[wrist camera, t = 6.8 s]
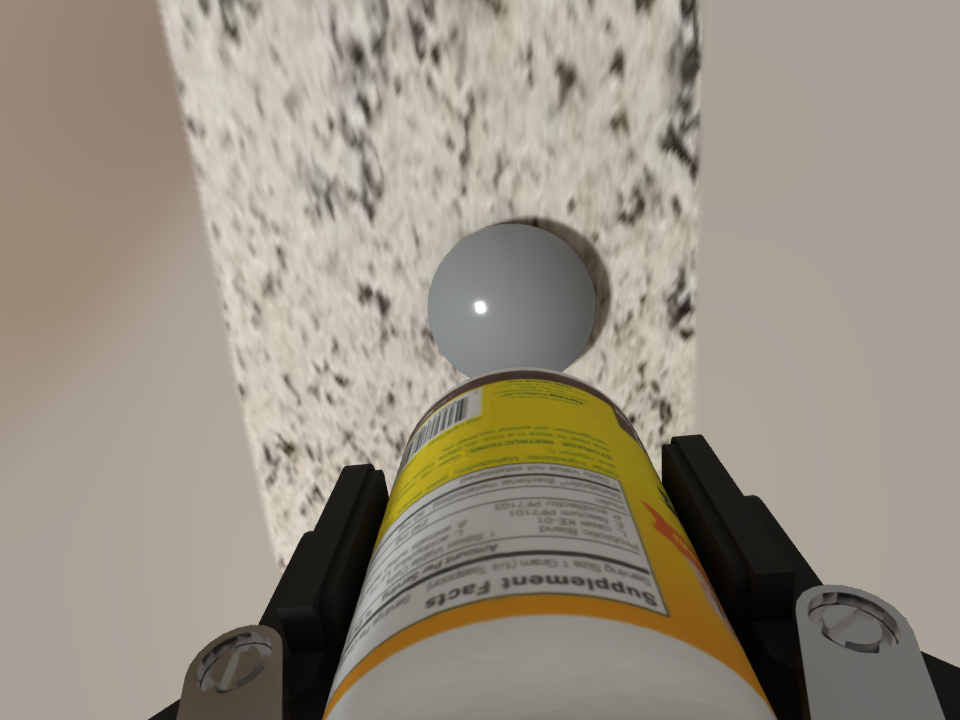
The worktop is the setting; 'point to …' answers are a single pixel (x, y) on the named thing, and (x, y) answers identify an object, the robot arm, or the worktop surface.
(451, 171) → the worktop surface
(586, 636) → the supplement bottle
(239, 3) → the worktop surface
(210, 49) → the worktop surface
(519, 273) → the slate coaster
